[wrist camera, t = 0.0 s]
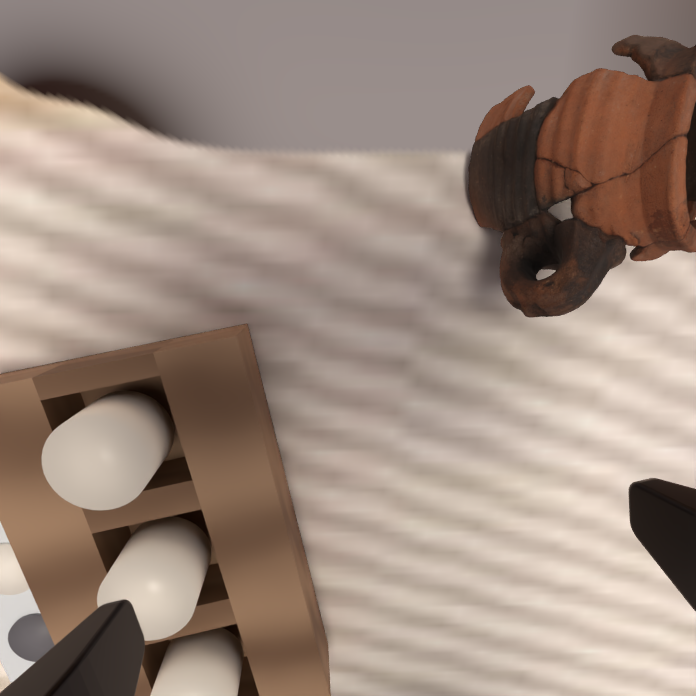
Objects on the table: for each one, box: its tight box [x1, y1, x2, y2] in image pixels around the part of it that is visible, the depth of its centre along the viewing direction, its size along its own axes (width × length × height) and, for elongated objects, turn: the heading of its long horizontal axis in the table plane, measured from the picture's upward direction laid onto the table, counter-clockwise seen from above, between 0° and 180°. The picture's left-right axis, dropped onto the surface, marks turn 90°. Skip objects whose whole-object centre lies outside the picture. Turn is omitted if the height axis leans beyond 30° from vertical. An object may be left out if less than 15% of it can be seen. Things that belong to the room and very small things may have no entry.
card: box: [0, 522, 55, 682], centre depth 22 cm, size 14×5×1 cm, turn 11°
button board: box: [0, 324, 331, 696], centre depth 21 cm, size 20×12×3 cm, turn 11°
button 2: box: [150, 628, 244, 696], centre depth 21 cm, size 4×4×3 cm
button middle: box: [97, 516, 211, 641], centre depth 19 cm, size 4×4×3 cm
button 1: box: [42, 391, 174, 510], centre depth 18 cm, size 4×4×3 cm
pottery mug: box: [469, 35, 696, 317], centre depth 19 cm, size 12×10×8 cm
